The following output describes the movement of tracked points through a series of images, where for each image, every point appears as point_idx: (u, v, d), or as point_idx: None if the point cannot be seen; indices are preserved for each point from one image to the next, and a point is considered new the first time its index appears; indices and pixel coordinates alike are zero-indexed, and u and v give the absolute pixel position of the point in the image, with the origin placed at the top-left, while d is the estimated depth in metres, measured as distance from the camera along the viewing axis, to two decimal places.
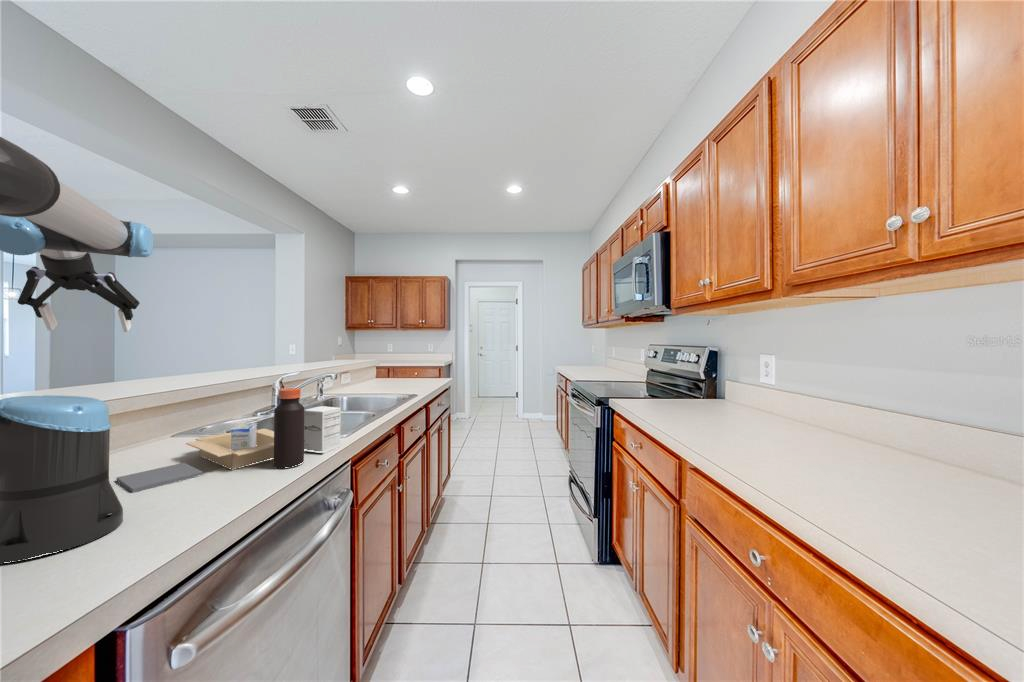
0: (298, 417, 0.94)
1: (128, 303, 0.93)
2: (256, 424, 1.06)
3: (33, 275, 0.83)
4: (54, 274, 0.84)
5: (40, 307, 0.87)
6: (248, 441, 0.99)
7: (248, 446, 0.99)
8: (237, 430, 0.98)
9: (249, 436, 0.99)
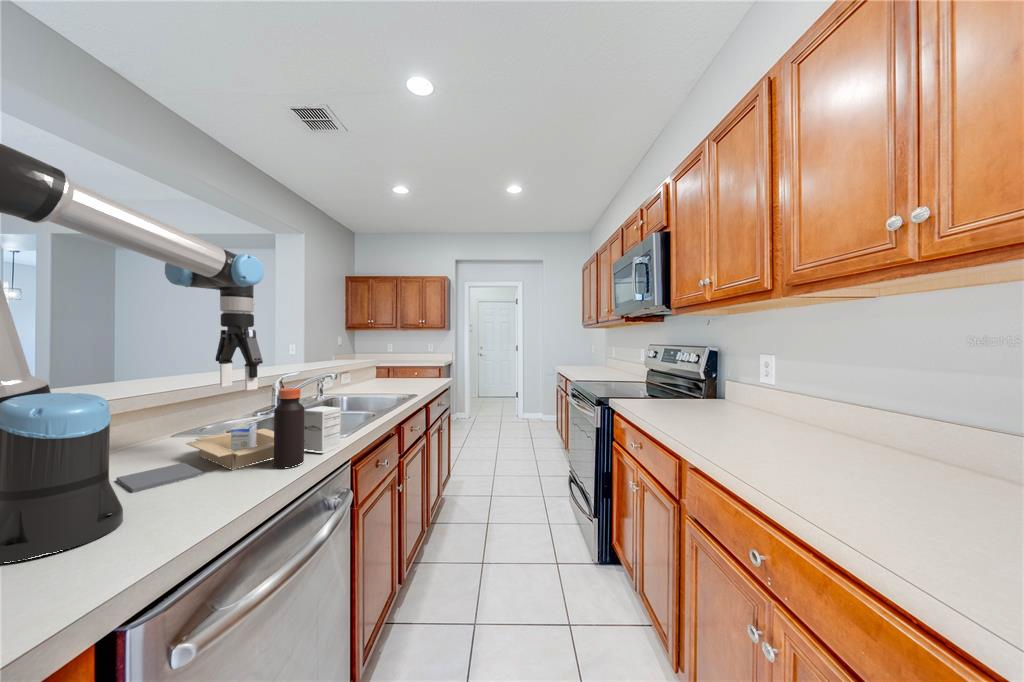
0: (298, 417, 0.94)
1: (250, 357, 0.97)
2: (256, 424, 1.06)
3: (222, 333, 1.03)
4: (228, 331, 1.02)
5: (221, 364, 1.04)
6: (248, 441, 0.99)
7: (248, 446, 0.99)
8: (237, 430, 0.98)
9: (249, 436, 0.99)
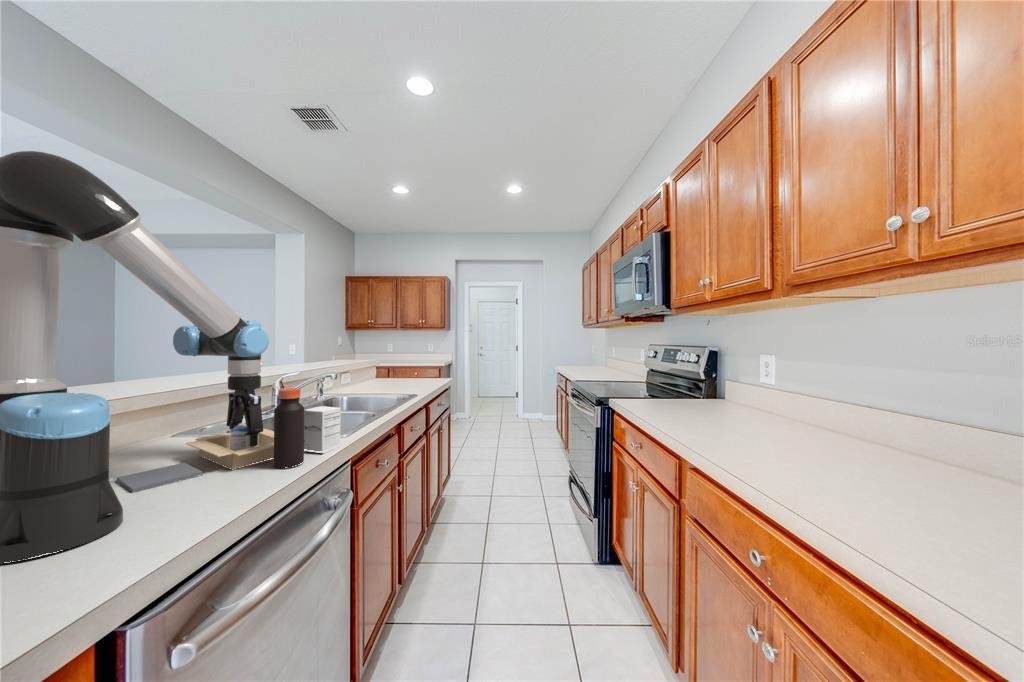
0: (298, 417, 0.94)
1: (251, 426, 0.97)
2: None
3: (230, 396, 1.04)
4: (235, 392, 1.02)
5: None
6: None
7: None
8: (237, 430, 0.98)
9: None
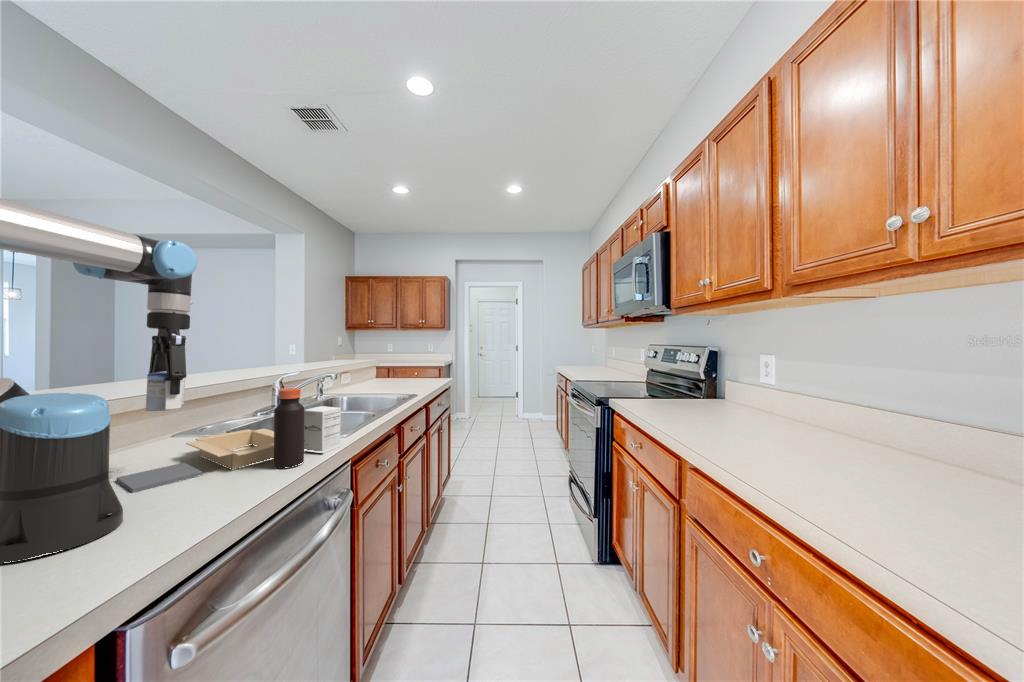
0: (298, 417, 0.94)
1: (171, 370, 0.82)
2: None
3: (153, 339, 0.88)
4: (158, 333, 0.87)
5: None
6: None
7: None
8: (155, 374, 0.82)
9: None
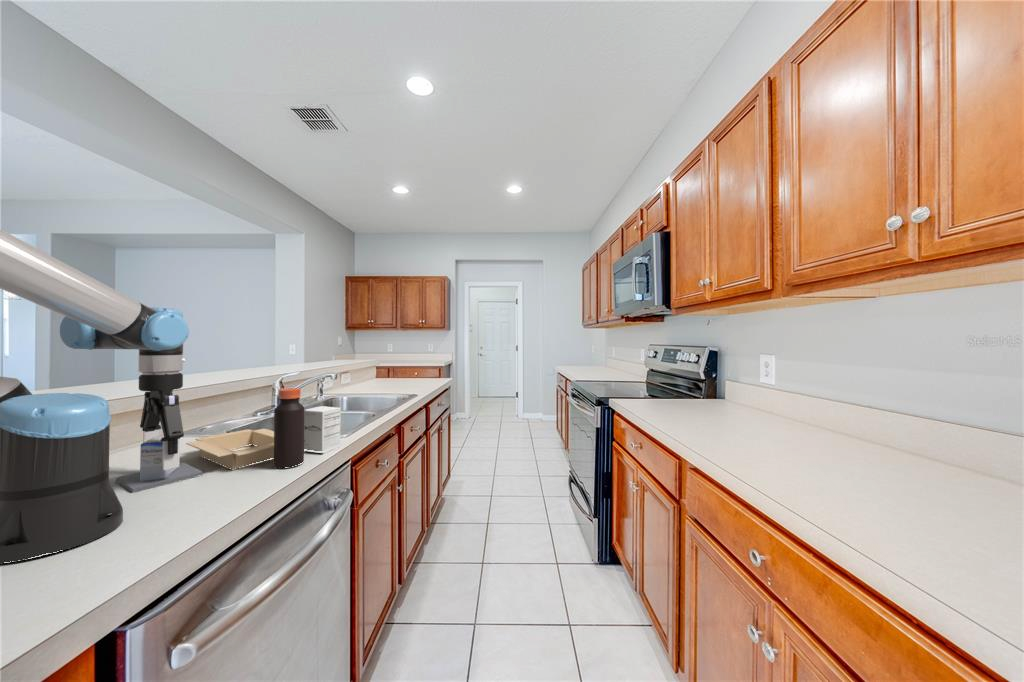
0: (298, 417, 0.94)
1: (167, 431, 0.80)
2: None
3: (146, 396, 0.87)
4: (151, 394, 0.86)
5: (145, 432, 0.88)
6: None
7: None
8: (148, 444, 0.82)
9: None
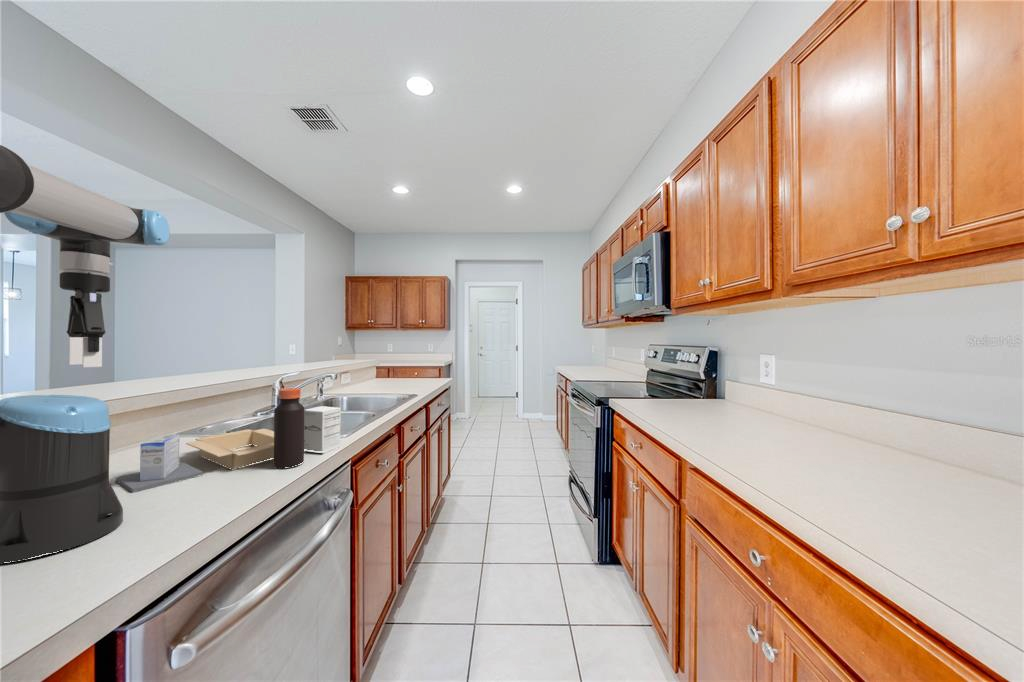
0: (298, 417, 0.94)
1: (86, 326, 0.77)
2: (179, 436, 0.89)
3: None
4: (75, 296, 0.83)
5: (71, 337, 0.86)
6: (162, 457, 0.82)
7: (162, 463, 0.82)
8: (148, 444, 0.82)
9: (164, 451, 0.83)
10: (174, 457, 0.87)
